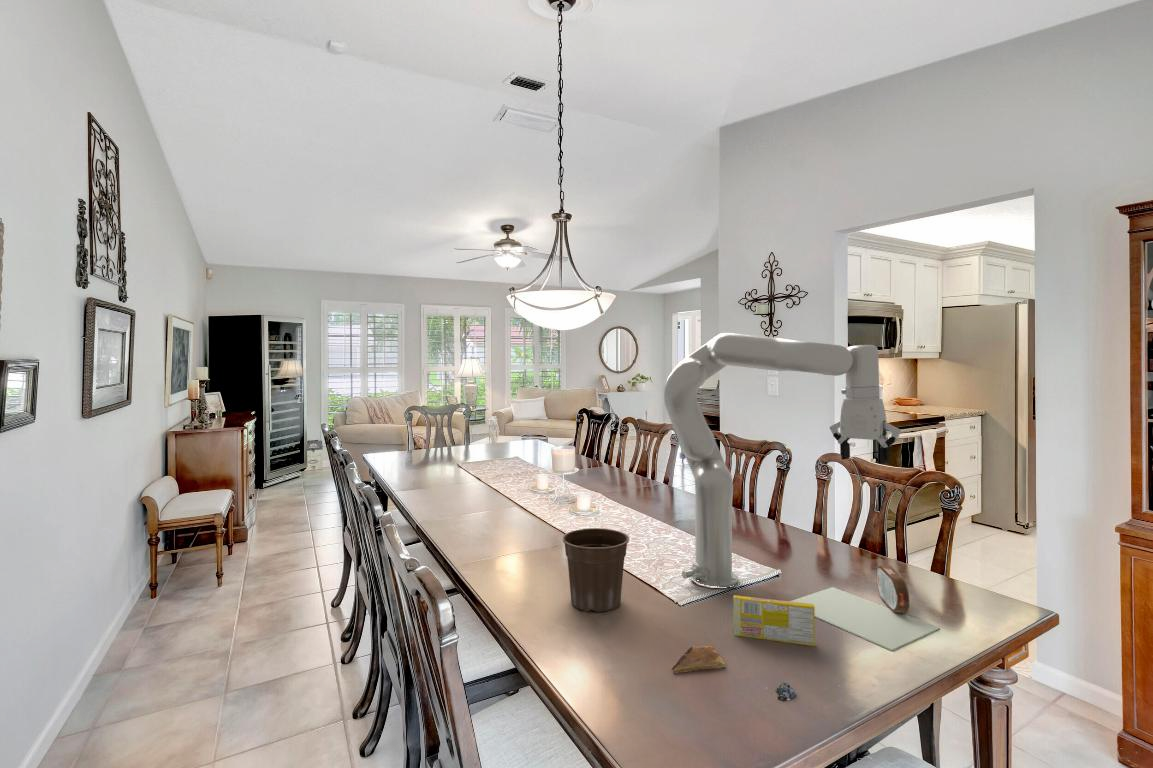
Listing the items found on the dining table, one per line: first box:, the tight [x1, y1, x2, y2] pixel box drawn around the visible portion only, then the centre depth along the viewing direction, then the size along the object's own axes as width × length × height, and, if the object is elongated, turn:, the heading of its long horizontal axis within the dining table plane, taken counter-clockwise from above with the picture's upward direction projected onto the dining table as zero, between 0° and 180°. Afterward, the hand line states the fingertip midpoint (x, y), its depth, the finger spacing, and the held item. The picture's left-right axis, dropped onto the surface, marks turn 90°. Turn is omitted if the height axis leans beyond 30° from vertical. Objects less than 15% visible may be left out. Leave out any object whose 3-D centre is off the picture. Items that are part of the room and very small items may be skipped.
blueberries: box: [765, 682, 797, 702], centre depth 100 cm, size 7×8×2 cm
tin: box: [876, 564, 910, 615], centre depth 134 cm, size 15×3×8 cm, turn 168°
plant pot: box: [562, 527, 630, 613], centre depth 138 cm, size 16×16×16 cm
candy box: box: [732, 594, 816, 647], centre depth 119 cm, size 16×2×8 cm, turn 71°
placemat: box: [788, 586, 941, 652], centre depth 129 cm, size 18×26×1 cm
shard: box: [671, 645, 726, 674], centre depth 111 cm, size 11×8×2 cm
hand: (864, 460), depth 144 cm, fingers open, 9 cm apart
